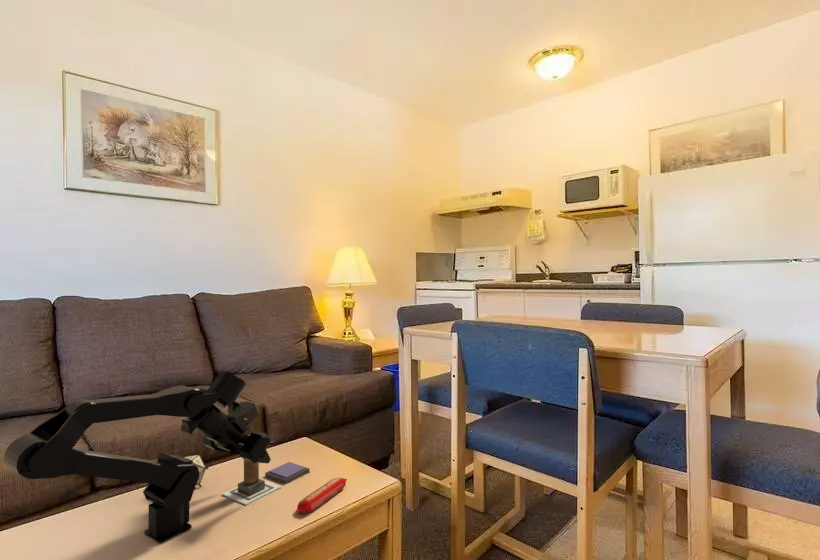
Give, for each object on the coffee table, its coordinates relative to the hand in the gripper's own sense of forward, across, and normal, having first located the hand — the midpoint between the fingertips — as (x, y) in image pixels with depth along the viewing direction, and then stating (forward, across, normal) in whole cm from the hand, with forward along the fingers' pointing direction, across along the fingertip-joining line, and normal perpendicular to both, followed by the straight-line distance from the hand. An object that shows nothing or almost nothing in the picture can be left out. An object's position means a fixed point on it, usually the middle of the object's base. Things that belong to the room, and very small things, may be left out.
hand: (256, 457), depth 105 cm
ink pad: (+12, 0, -1) cm, 12 cm away
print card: (+4, 0, +6) cm, 8 cm away
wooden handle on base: (+4, 0, +6) cm, 8 cm away
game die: (0, +15, +12) cm, 19 cm away
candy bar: (+9, -17, +2) cm, 20 cm away
